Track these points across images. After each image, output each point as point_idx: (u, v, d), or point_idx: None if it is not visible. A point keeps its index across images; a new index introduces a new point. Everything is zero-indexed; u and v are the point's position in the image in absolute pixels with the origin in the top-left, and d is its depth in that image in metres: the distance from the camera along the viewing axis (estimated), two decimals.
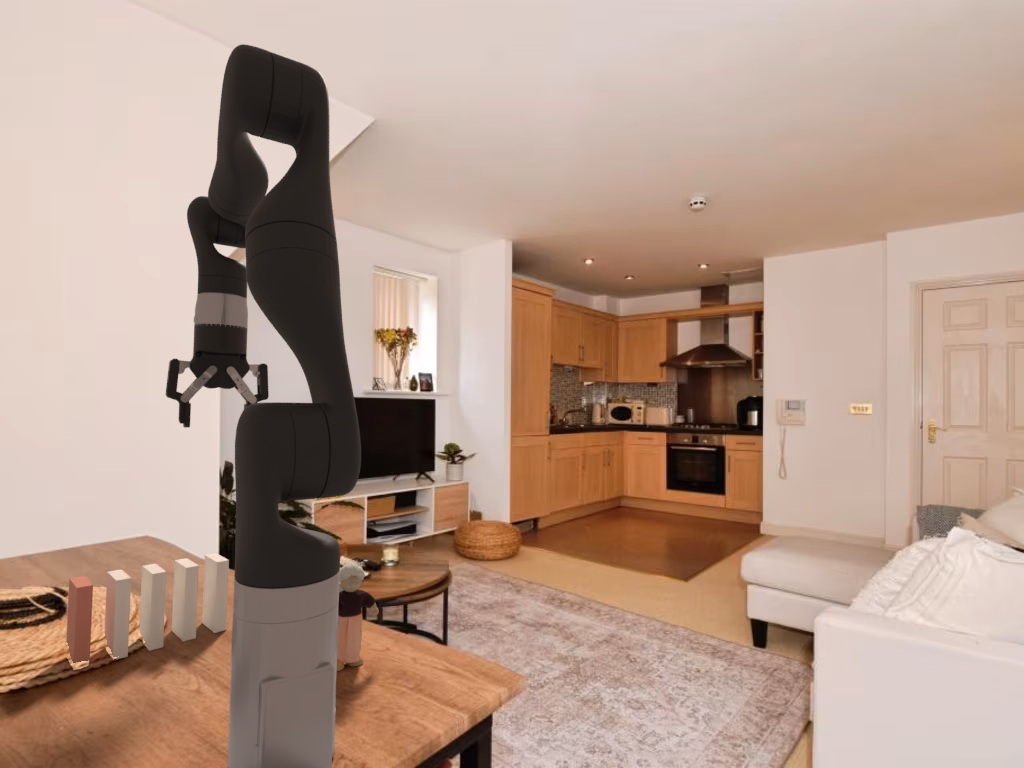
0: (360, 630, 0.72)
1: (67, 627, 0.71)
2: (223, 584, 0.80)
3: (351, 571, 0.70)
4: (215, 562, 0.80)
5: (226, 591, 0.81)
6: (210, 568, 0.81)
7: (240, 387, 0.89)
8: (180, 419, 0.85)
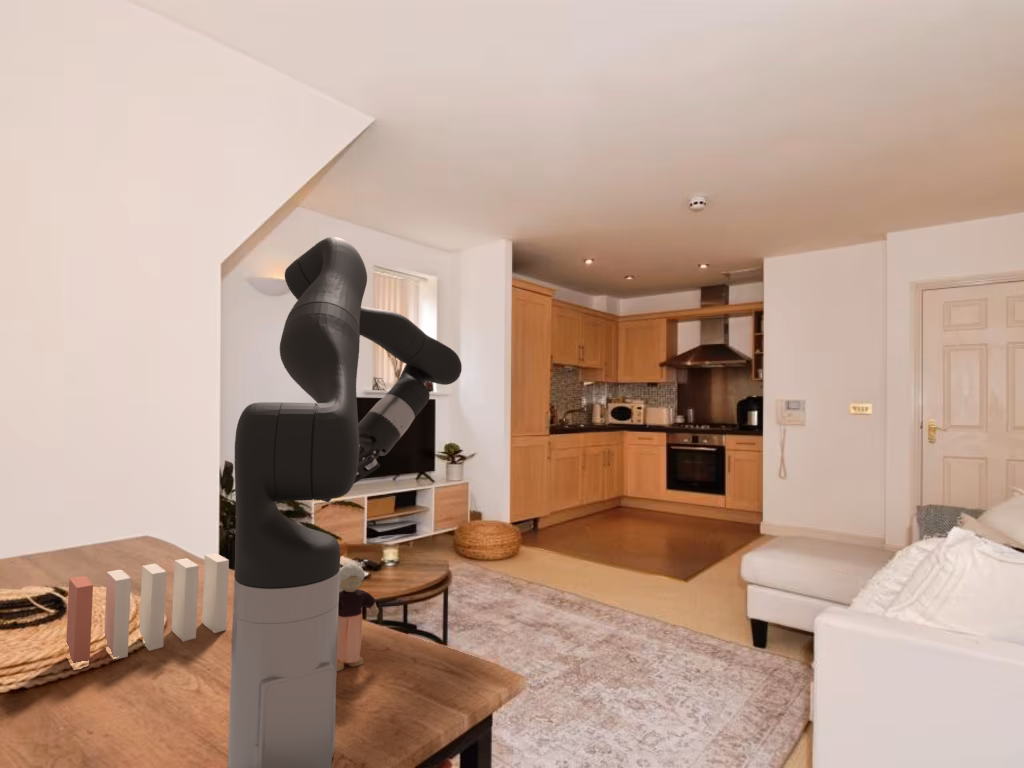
0: (360, 630, 0.72)
1: (67, 627, 0.71)
2: (223, 584, 0.80)
3: (351, 571, 0.70)
4: (215, 562, 0.80)
5: (226, 591, 0.81)
6: (210, 568, 0.81)
7: None
8: None
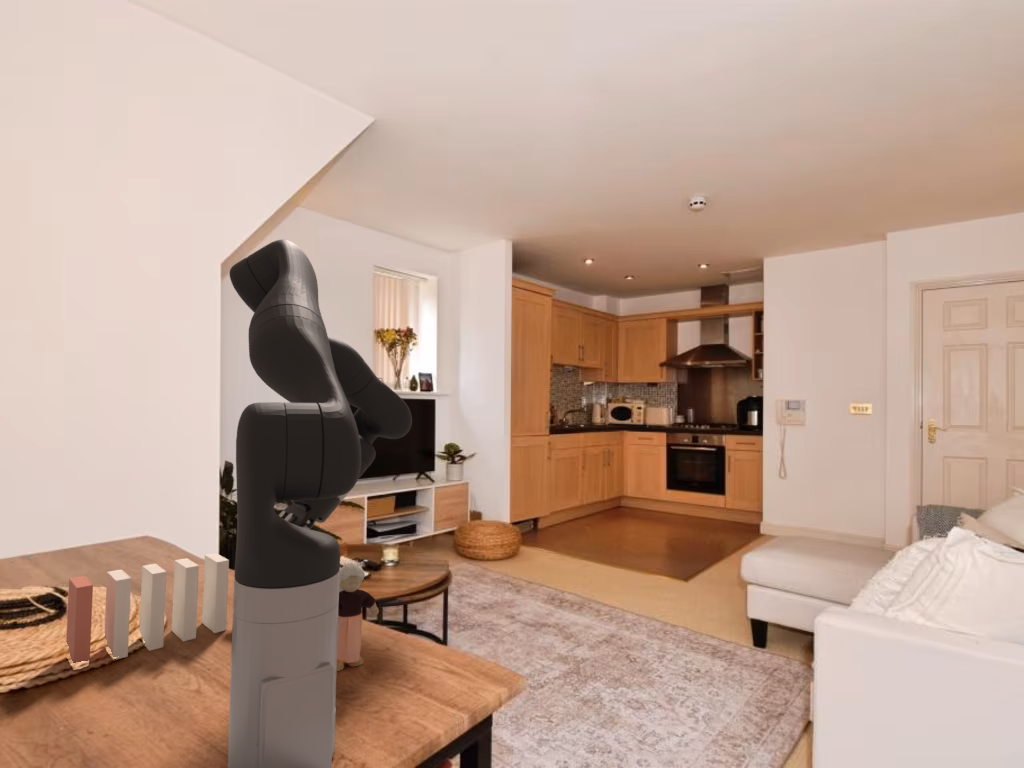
0: (360, 630, 0.72)
1: (67, 627, 0.71)
2: (223, 584, 0.80)
3: (351, 571, 0.70)
4: (215, 562, 0.80)
5: (226, 591, 0.81)
6: (210, 568, 0.81)
7: None
8: None
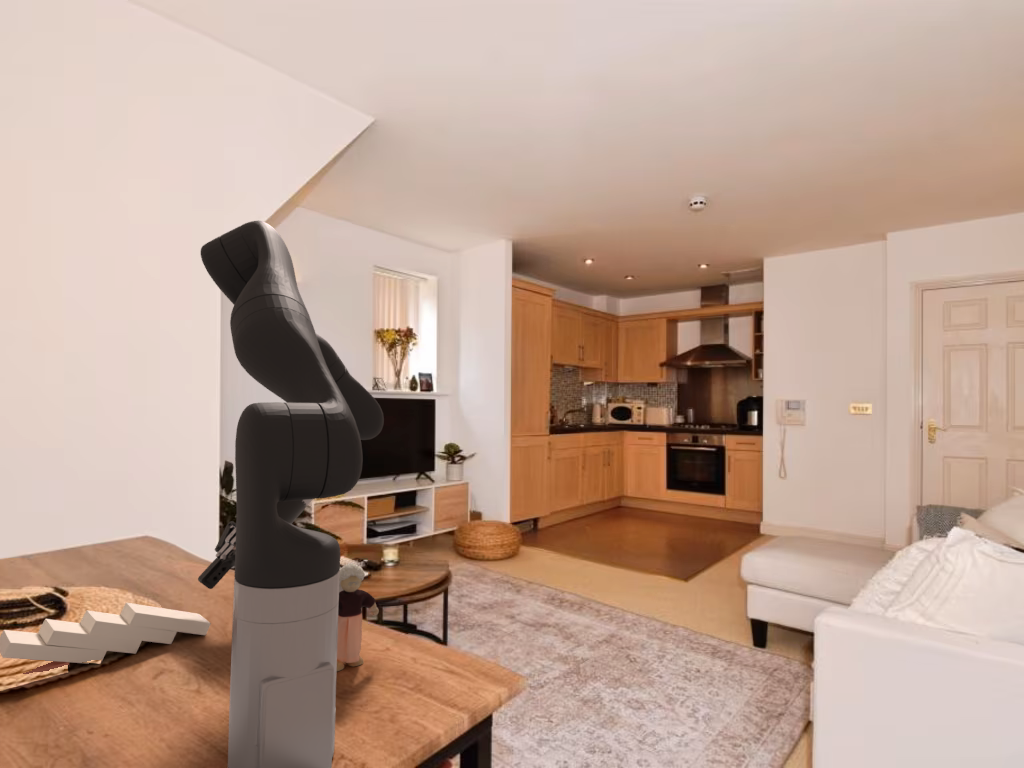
0: (360, 630, 0.72)
1: None
2: (160, 621, 0.75)
3: (351, 571, 0.70)
4: None
5: (170, 618, 0.76)
6: None
7: None
8: (217, 582, 0.81)
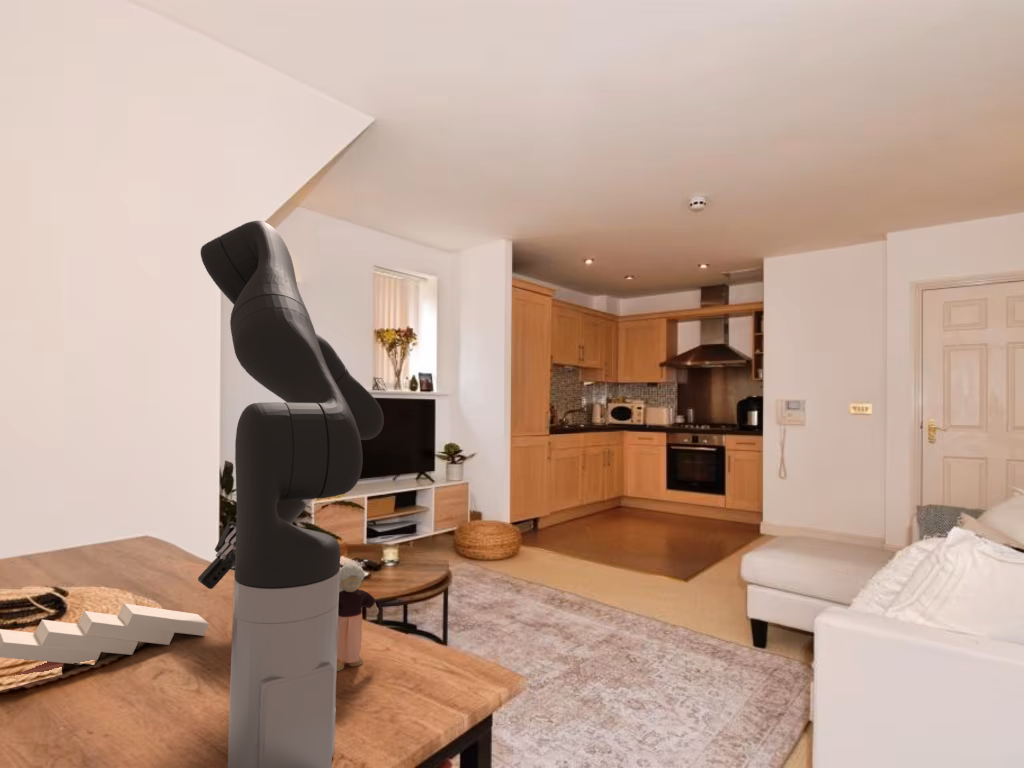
0: (360, 630, 0.72)
1: None
2: (158, 622, 0.74)
3: (351, 571, 0.70)
4: None
5: (168, 619, 0.75)
6: None
7: None
8: (217, 582, 0.81)
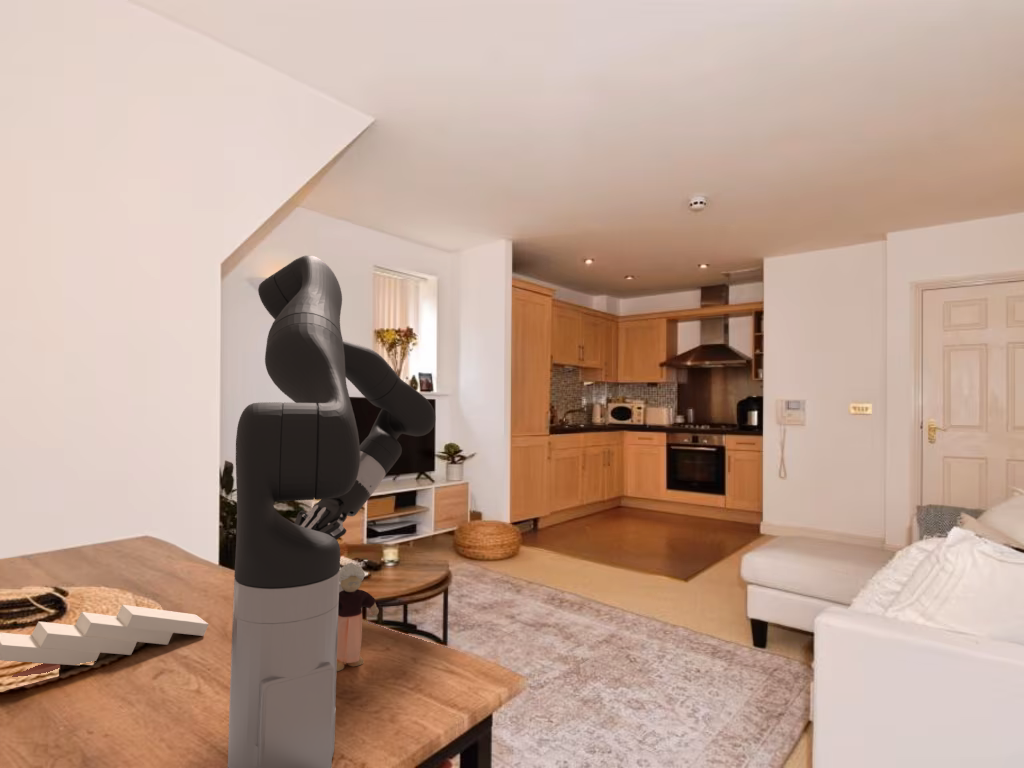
0: (360, 630, 0.72)
1: None
2: (157, 623, 0.74)
3: (351, 571, 0.70)
4: None
5: (167, 620, 0.75)
6: None
7: None
8: None
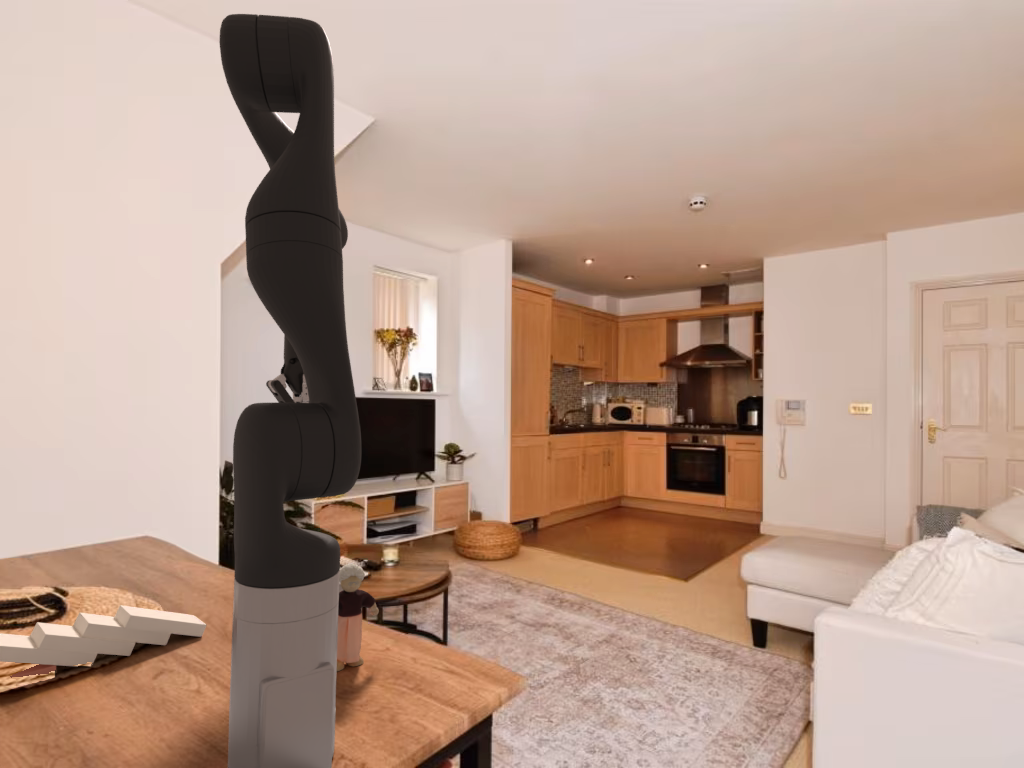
0: (360, 630, 0.72)
1: None
2: (155, 623, 0.74)
3: (351, 571, 0.70)
4: None
5: (165, 621, 0.75)
6: None
7: (298, 395, 0.90)
8: None
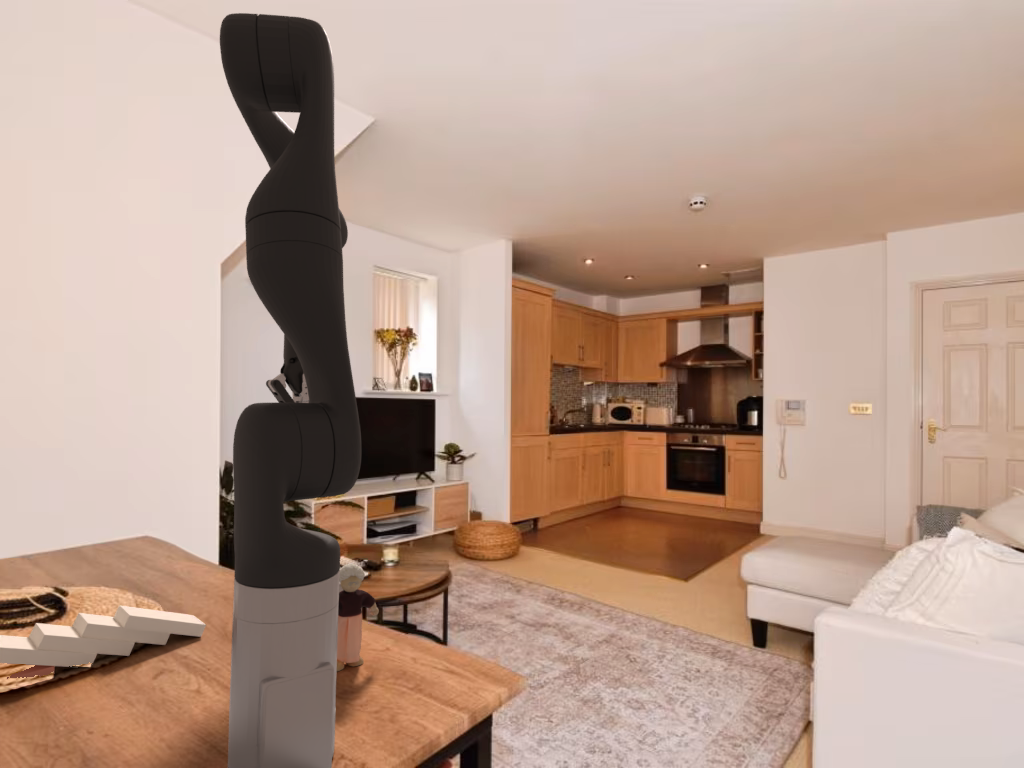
0: (360, 630, 0.72)
1: None
2: (155, 623, 0.74)
3: (351, 571, 0.70)
4: None
5: (165, 621, 0.75)
6: None
7: None
8: None
